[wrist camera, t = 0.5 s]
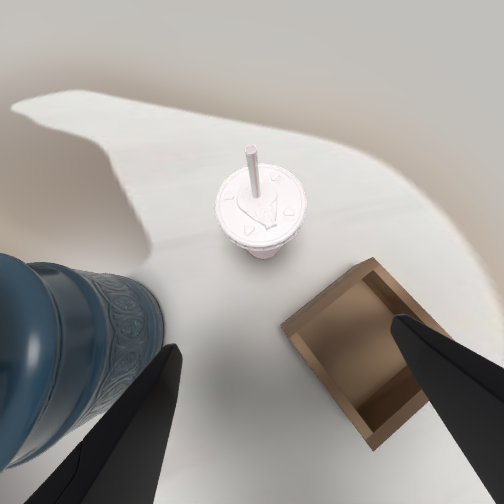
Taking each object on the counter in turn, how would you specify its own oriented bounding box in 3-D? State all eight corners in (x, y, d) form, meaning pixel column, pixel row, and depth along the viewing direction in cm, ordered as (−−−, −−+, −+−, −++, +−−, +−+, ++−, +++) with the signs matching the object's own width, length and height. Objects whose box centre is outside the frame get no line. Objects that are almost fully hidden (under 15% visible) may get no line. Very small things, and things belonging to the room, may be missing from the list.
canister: (156, 262, 24) (-134, 154, 7) (178, 382, 20) (-293, 786, 3) (50, 296, 24) (-501, 275, 7) (55, 422, 20) (-1023, 1014, 3)
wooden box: (432, 348, 19) (473, 360, 15) (351, 420, 18) (373, 451, 14) (354, 265, 22) (373, 257, 18) (280, 325, 21) (282, 329, 17)
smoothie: (277, 208, 24) (287, 86, 11) (302, 256, 22) (352, 184, 9) (227, 230, 24) (172, 135, 10) (249, 280, 22) (217, 244, 9)
